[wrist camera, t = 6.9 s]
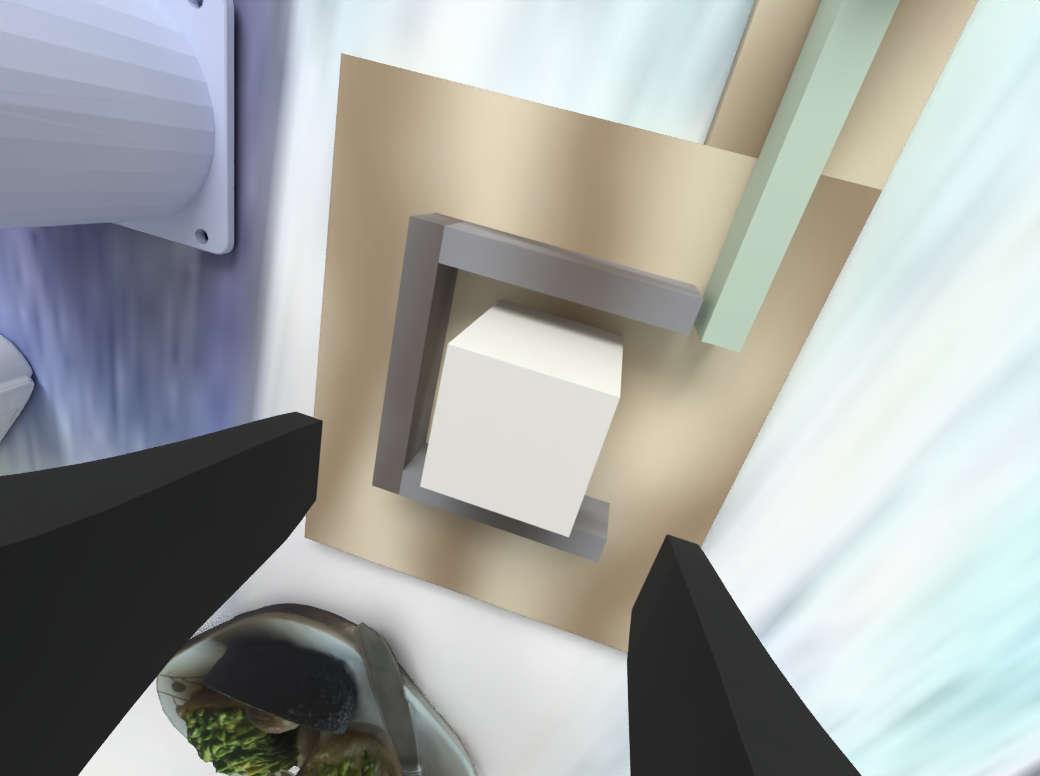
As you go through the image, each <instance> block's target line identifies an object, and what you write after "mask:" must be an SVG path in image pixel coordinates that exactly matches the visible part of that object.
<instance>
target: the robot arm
mask: <svg viewBox="0 0 1040 776" xmlns="http://www.w3.org/2000/svg"><path fill="white" fill-rule="evenodd" d="M110 222H111V223H114V224H118V225H121V226H124V227H128V228H131V229H134V230H138V231H141V232H144V233H147V234H151V235H154V236H157V237H161V238H164V239H167V240H171V241H174V242H177V243H180V244H184V245H187V246H190V247H194V248H197V249H200V250H204V251H207V252H210V253H213V254H226V253H229V252H231V250H232V249H233V246H234V5H233V0H203V4H202V6H201V7H199V4H198V0H0V229H14V228H30V227H46V226H62V225H78V224H94V223H110ZM204 231H205V232H206V233H207V235H208V241H207V240H206V239H205V237H204ZM322 426H323V421H322V420H319V419H316V418H313V417H310V416H307V415H304V414H301V413H298V412H292V413H287V414H282V415H278V416H274V417H270V418H266V419H262V420H258V421H254V422H251V423H247V424H243V425H240V426H236V427H232V428H229V429H225V430H221V431H217V432H214V433H210V434H206V435H203V436H199V437H195V438H191V439H188V440H184V441H180V442H175V443H171V444H167V445H163V446H159V447H154V448H150V449H146V450H142V451H137V452H133V453H129V454H125V455H120V456H116V457H111V458H106V459H102V460H97V461H91V462H86V463H81V464H76V465H70V466H64V467H58V468H52V469H46V470H40V471H34V472H28V473H21V474H14V475H6V476H0V776H78V775H79V774H80V772H81V771H82V770H83V768H84V767H85V766H86V764H87V763H88V762H89V760H90V759H91V758H92V757H93V755H94V754H95V753H96V752H97V750H98V749H99V748H100V747H101V745H102V744H103V743H104V741H105V740H106V739H107V738H108V736H109V735H110V734H111V733H112V731H113V730H114V729H115V728H116V726H117V725H118V724H119V723H120V721H121V720H122V719H123V717H124V716H125V715H126V714H127V712H128V711H129V710H130V709H131V707H132V706H133V705H134V704H135V702H136V701H137V700H138V699H139V698H140V696H141V695H142V694H143V693H144V691H145V690H146V689H147V688H148V687H149V685H150V684H151V683H152V682H153V681H154V679H155V678H156V677H157V676H158V675H159V673H160V672H161V671H162V670H163V669H164V667H165V666H166V665H167V664H168V663H169V661H170V660H171V659H172V658H173V656H174V655H175V654H176V653H177V652H178V651H179V650H180V648H181V647H182V646H183V645H184V644H185V643H186V642H187V641H188V640H189V639H190V638H191V637H192V635H193V634H194V633H195V632H196V631H197V630H198V629H199V628H200V627H201V626H202V625H203V624H204V623H205V622H206V621H207V620H208V619H209V618H210V617H211V616H212V615H213V614H214V613H215V612H216V611H217V610H218V609H219V608H220V607H221V606H222V605H223V604H224V603H225V602H226V601H227V600H228V599H229V598H230V597H231V596H232V595H233V594H234V593H235V592H236V591H237V590H238V589H239V588H240V587H241V586H242V585H243V584H244V583H245V582H246V581H247V580H248V579H249V577H250V576H251V575H252V574H253V573H254V572H255V571H256V570H257V569H258V568H259V567H260V566H261V565H262V564H263V563H264V562H265V561H266V560H267V559H268V558H269V557H270V556H271V555H272V554H273V553H274V552H275V551H276V550H277V549H278V548H279V547H280V546H281V545H282V544H283V543H284V541H285V540H286V539H287V538H288V537H289V536H290V534H291V533H292V532H293V530H294V529H295V528H296V527H297V525H298V524H299V523H300V522H301V520H302V519H303V517H304V516H305V515H306V513H307V512H308V511H309V509H310V508H311V507H312V505H313V504H314V502H315V501H316V497H317V485H318V473H319V461H320V450H321V438H322ZM627 677H628V711H629V740H630V770H631V776H861V774H860V773H859V772H858V771H857V769H856V768H855V767H854V766H853V765H852V763H851V762H850V761H849V760H848V758H847V757H846V756H845V755H844V754H843V752H842V751H841V750H840V749H839V747H838V746H837V745H836V744H835V742H834V741H833V740H832V739H831V738H830V736H829V735H828V734H827V733H826V731H825V730H824V729H823V728H822V726H821V725H820V724H819V722H818V721H817V720H816V719H815V717H814V716H813V715H812V713H811V712H810V711H809V709H808V708H807V707H806V705H805V704H804V703H803V701H802V700H801V699H800V697H799V696H798V694H797V693H796V692H795V690H794V689H793V688H792V686H791V685H790V683H789V682H788V681H787V679H786V678H785V676H784V675H783V674H782V672H781V671H780V670H779V668H778V667H777V665H776V664H775V662H774V661H773V660H772V658H771V657H770V655H769V654H768V652H767V651H766V649H765V648H764V646H763V645H762V643H761V642H760V640H759V639H758V637H757V636H756V634H755V633H754V631H753V630H752V628H751V627H750V625H749V624H748V622H747V621H746V619H745V618H744V616H743V614H742V613H741V611H740V610H739V608H738V607H737V605H736V603H735V602H734V600H733V599H732V597H731V595H730V594H729V592H728V591H727V589H726V587H725V586H724V584H723V583H722V581H721V579H720V578H719V576H718V574H717V573H716V571H715V570H714V568H713V566H712V565H711V563H710V562H709V560H708V558H707V557H706V555H705V554H704V552H703V551H702V549H701V548H700V546H699V545H698V544H696V543H693V542H690V541H687V540H684V539H681V538H678V537H674V536H671V535H668V534H667V535H666V537H665V539H664V541H663V543H662V545H661V548H660V550H659V552H658V554H657V556H656V558H655V560H654V563H653V565H652V567H651V569H650V571H649V573H648V576H647V578H646V580H645V582H644V584H643V586H642V588H641V591H640V593H639V595H638V597H637V599H636V601H635V604H634V606H633V608H632V612H631V622H630V632H629V644H628V657H627Z"/></svg>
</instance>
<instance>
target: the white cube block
mask: <svg viewBox="0 0 1040 776" xmlns="http://www.w3.org/2000/svg"><path fill="white" fill-rule="evenodd" d="M623 337H624V336H622V335H619V334H616V333H612V332H609V331H606V330H602V329H599V328H596V327H592V326H589V325H586V324H582V323H579V322H576V321H572V320H569V319H566V318H562V317H559V316H556V315H552V314H549V313H546V312H542V311H539V310H536V309H532V308H529V307H526V306H522V305H519V304H516V303H512V302H509V301H505V300H502V299H501V300H499V301H498V302H497V303H496V304H495V305H494V306H492V307H491V308H490V309H489V310H488V311H486V312H485V313H484V314H483V315H482V316H480V317H479V318H478V319H477V320H476V321H474V322H473V323H472V324H471V325H470V326H469V327H467V328H466V329H465V330H464V331H463V332H461V333H460V334H459V335H458V336H457V337H455V338H454V339H453V340H452V341H451V342H449V343H448V346H447V351H446V356H445V361H444V366H443V371H442V376H441V381H440V387H439V392H438V397H437V402H436V407H435V412H434V417H433V422H432V428H431V433H430V438H429V443H428V448H427V453H426V458H425V463H424V469H423V474H422V479H421V484H420V487H423V488H426V489H429V490H432V491H435V492H438V493H441V494H444V495H447V496H449V497H452V498H455V499H458V500H461V501H464V502H467V503H470V504H473V505H476V506H479V507H482V508H485V509H487V510H490V511H493V512H496V513H499V514H502V515H505V516H508V517H511V518H514V519H517V520H520V521H523V522H525V523H528V524H531V525H534V526H537V527H540V528H543V529H546V530H549V531H552V532H555V533H558V534H561V535H563V536H566V537H569V536H570V533H571V530H572V528H573V525H574V522H575V519H576V517H577V514H578V511H579V508H580V506H581V503H582V500H583V498H584V495H585V492H586V489H587V487H588V484H589V481H590V478H591V476H592V473H593V470H594V468H595V465H596V462H597V459H598V457H599V454H600V451H601V448H602V446H603V443H604V440H605V438H606V435H607V432H608V429H609V427H610V424H611V421H612V418H613V416H614V413H615V410H616V408H617V405H618V402H619V399H620V391H621V373H622V355H623Z"/></svg>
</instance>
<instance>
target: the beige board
mask: <svg viewBox="0 0 1040 776" xmlns="http://www.w3.org/2000/svg"><path fill="white" fill-rule="evenodd" d="M821 1H822V0H755V2H754V5H753V8H752V11H751V14H750V16H749V19H748V22H747V25H746V28H745V31H744V33H743V36H742V39H741V42H740V45H739V47H738V50H737V53H736V56H735V59H734V61H733V64H732V67H731V70H730V73H729V76H728V78H727V81H726V84H725V87H724V90H723V92H722V95H721V98H720V101H719V104H718V106H717V109H716V112H715V115H714V118H713V121H712V123H711V126H710V129H709V132H708V135H707V137H706V140H705V143H704V145H702V144H698V143H694V142H690V141H686V140H683V139H679V138H675V137H671V136H667V135H663V134H659V133H655V132H651V131H647V130H643V129H639V128H635V127H631V126H627V125H623V124H619V123H615V122H611V121H607V120H603V119H599V118H595V117H592V116H588V115H584V114H580V113H576V112H572V111H568V110H564V109H560V108H556V107H552V106H548V105H544V104H540V103H536V102H532V101H528V100H524V99H520V98H516V97H512V96H508V95H504V94H501V93H497V92H493V91H489V90H485V89H481V88H477V87H473V86H469V85H465V84H461V83H457V82H453V81H449V80H445V79H441V78H437V77H433V76H429V75H425V74H421V73H417V72H413V71H410V70H406V69H402V68H398V67H394V66H390V65H386V64H382V63H378V62H374V61H370V60H366V59H362V58H358V57H354V56H350V55H346V54H342V53H341V64H340V77H339V91H338V104H337V117H336V130H335V143H334V156H333V170H332V183H331V196H330V209H329V222H328V235H327V249H326V262H325V275H324V288H323V301H322V314H321V328H320V341H319V354H318V367H317V380H316V394H315V407H314V418H316V419H319V420H322V421H323V426H322V438H321V450H320V461H319V473H318V485H317V497H316V501H315V502H314V504H313V505H312V507H311V508H310V509H309V511H308V512H307V513H306V525H305V538H308V539H311V540H313V541H316V542H319V543H322V544H325V545H327V546H330V547H333V548H336V549H339V550H341V551H344V552H347V553H350V554H353V555H355V556H358V557H361V558H364V559H367V560H369V561H372V562H375V563H378V564H381V565H383V566H386V567H389V568H392V569H395V570H397V571H400V572H403V573H406V574H409V575H411V576H414V577H417V578H420V579H423V580H425V581H428V582H431V583H434V584H437V585H439V586H442V587H445V588H448V589H451V590H453V591H456V592H459V593H462V594H465V595H467V596H470V597H473V598H476V599H479V600H481V601H484V602H487V603H490V604H493V605H495V606H498V607H501V608H504V609H506V610H509V611H512V612H515V613H518V614H520V615H523V616H526V617H529V618H532V619H534V620H537V621H540V622H543V623H546V624H548V625H551V626H554V627H557V628H560V629H562V630H565V631H568V632H571V633H574V634H576V635H579V636H582V637H585V638H588V639H590V640H593V641H596V642H599V643H602V644H604V645H607V646H610V647H613V648H616V649H618V650H621V651H624V652H627V653H628V644H629V632H630V622H631V612H632V608H633V606H634V604H635V601H636V599H637V597H638V595H639V593H640V591H641V588H642V586H643V584H644V582H645V580H646V578H647V576H648V573H649V571H650V569H651V567H652V565H653V563H654V560H655V558H656V556H657V554H658V552H659V550H660V548H661V545H662V543H663V541H664V539H665V537H666V535H667V534H668V535H671V536H674V537H678V538H681V539H684V540H687V541H690V542H693V543H696V544H698V545H699V546H700V548H701V546H702V544H703V542H704V540H705V538H706V536H707V534H708V532H709V530H710V528H711V526H712V524H713V522H714V520H715V518H716V516H717V514H718V512H719V510H720V508H721V506H722V504H723V502H724V500H725V498H726V496H727V495H728V493H729V491H730V489H731V487H732V485H733V483H734V481H735V479H736V477H737V475H738V473H739V471H740V469H741V467H742V465H743V463H744V461H745V459H746V457H747V455H748V453H749V451H750V449H751V447H752V445H753V443H754V441H755V439H756V437H757V435H758V433H759V432H760V430H761V428H762V426H763V424H764V422H765V420H766V418H767V416H768V414H769V412H770V410H771V408H772V406H773V404H774V402H775V400H776V398H777V396H778V394H779V392H780V390H781V388H782V386H783V384H784V382H785V380H786V378H787V376H788V374H789V372H790V370H791V369H792V367H793V365H794V363H795V361H796V359H797V357H798V355H799V353H800V351H801V349H802V347H803V345H804V343H805V341H806V339H807V337H808V335H809V333H810V331H811V329H812V327H813V325H814V323H815V321H816V319H817V317H818V315H819V313H820V311H821V309H822V307H823V306H824V304H825V302H826V300H827V298H828V296H829V294H830V292H831V290H832V288H833V286H834V284H835V282H836V280H837V278H838V276H839V274H840V272H841V270H842V268H843V266H844V264H845V262H846V260H847V258H848V256H849V254H850V252H851V250H852V248H853V246H854V244H855V243H856V241H857V239H858V237H859V235H860V233H861V231H862V229H863V227H864V225H865V223H866V221H867V219H868V217H869V215H870V213H871V211H872V209H873V207H874V205H875V203H876V201H877V199H878V197H879V195H880V193H881V191H882V189H883V187H884V185H885V183H886V181H887V180H888V178H889V176H890V174H891V172H892V170H893V168H894V166H895V164H896V162H897V160H898V158H899V156H900V154H901V152H902V150H903V148H904V146H905V144H906V142H907V140H908V138H909V136H910V134H911V132H912V130H913V128H914V126H915V124H916V122H917V120H918V118H919V117H920V115H921V113H922V111H923V109H924V107H925V105H926V103H927V101H928V99H929V97H930V95H931V93H932V91H933V89H934V87H935V85H936V83H937V81H938V79H939V77H940V75H941V73H942V71H943V69H944V67H945V65H946V63H947V61H948V59H949V57H950V55H951V54H952V52H953V50H954V48H955V46H956V44H957V42H958V40H959V38H960V36H961V34H962V32H963V30H964V28H965V26H966V24H967V22H968V20H969V18H970V16H971V14H972V12H973V10H974V8H975V6H976V4H977V2H978V0H900V1H899V4H898V6H897V8H896V10H895V12H894V15H893V17H892V19H891V21H890V23H889V26H888V28H887V30H886V32H885V34H884V37H883V39H882V41H881V43H880V45H879V48H878V50H877V52H876V54H875V56H874V59H873V61H872V63H871V65H870V67H869V70H868V72H867V74H866V76H865V78H864V81H863V83H862V85H861V87H860V89H859V92H858V94H857V96H856V98H855V100H854V103H853V105H852V107H851V109H850V111H849V114H848V116H847V118H846V120H845V122H844V125H843V127H842V129H841V131H840V133H839V136H838V138H837V140H836V142H835V144H834V147H833V149H832V151H831V153H830V155H829V158H828V160H827V162H826V164H825V166H824V169H823V171H822V173H821V175H820V177H819V180H818V182H817V184H816V186H815V188H814V191H813V193H812V195H811V197H810V199H809V202H808V204H807V206H806V208H805V210H804V213H803V215H802V217H801V219H800V221H799V224H798V226H797V228H796V230H795V232H794V235H793V237H792V239H791V241H790V243H789V246H788V248H787V250H786V252H785V254H784V257H783V259H782V261H781V263H780V265H779V268H778V270H777V272H776V274H775V276H774V279H773V281H772V283H771V285H770V287H769V290H768V292H767V294H766V296H765V298H764V301H763V303H762V305H761V307H760V309H759V312H758V314H757V316H756V318H755V320H754V323H753V325H752V327H751V329H750V331H749V334H748V336H747V338H746V340H745V342H744V345H743V347H742V349H741V351H740V352H737V351H733V350H730V349H727V348H723V347H720V346H716V345H713V344H709V343H706V342H703V341H701V339H700V337H699V335H698V333H697V331H696V328H695V326H694V322H695V320H696V317H697V315H698V312H699V310H700V307H701V305H702V302H703V300H704V299H703V295H704V293H705V290H706V288H707V285H708V283H709V280H710V278H711V275H712V273H713V270H714V268H715V265H716V263H717V260H718V258H719V255H720V253H721V250H722V248H723V245H724V243H725V240H726V238H727V235H728V233H729V230H730V228H731V225H732V223H733V220H734V218H735V215H736V213H737V210H738V208H739V205H740V203H741V200H742V198H743V195H744V193H745V190H746V188H747V185H748V183H749V180H750V178H751V175H752V173H753V170H754V168H755V165H756V163H757V160H758V158H759V155H760V153H761V150H762V148H763V145H764V143H765V140H766V138H767V135H768V133H769V130H770V128H771V125H772V123H773V120H774V118H775V115H776V113H777V110H778V108H779V105H780V103H781V100H782V98H783V95H784V93H785V91H786V88H787V86H788V83H789V81H790V78H791V76H792V73H793V71H794V68H795V66H796V63H797V61H798V58H799V56H800V53H801V51H802V48H803V46H804V43H805V41H806V38H807V36H808V33H809V31H810V28H811V26H812V23H813V21H814V18H815V16H816V13H817V11H818V8H819V6H820V3H821ZM501 299H502V300H505V301H509V302H512V303H516V304H519V305H522V306H526V307H529V308H532V309H536V310H539V311H542V312H546V313H549V314H552V315H556V316H559V317H562V318H566V319H569V320H572V321H576V322H579V323H582V324H586V325H589V326H592V327H596V328H599V329H602V330H606V331H609V332H612V333H616V334H619V335H622V336H624V337H623V355H622V373H621V391H620V399H619V402H618V405H617V408H616V410H615V413H614V416H613V418H612V421H611V424H610V427H609V429H608V432H607V435H606V438H605V440H604V443H603V446H602V448H601V451H600V454H599V457H598V459H597V462H596V465H595V468H594V470H593V473H592V476H591V478H590V481H589V484H588V487H587V489H586V492H585V495H584V498H583V500H582V503H581V506H580V508H579V511H578V514H577V517H576V519H575V522H574V525H573V528H572V530H571V533H570V536H569V537H566V536H563V535H561V534H558V533H555V532H552V531H549V530H546V529H543V528H540V527H537V526H534V525H531V524H528V523H525V522H523V521H520V520H517V519H514V518H511V517H508V516H505V515H502V514H499V513H496V512H493V511H490V510H487V509H485V508H482V507H479V506H476V505H473V504H470V503H467V502H464V501H461V500H458V499H455V498H452V497H449V496H447V495H444V494H441V493H438V492H435V491H432V490H429V489H426V488H423V487H420V484H421V479H422V474H423V469H424V463H425V458H426V453H427V448H428V443H429V438H430V433H431V428H432V422H433V417H434V412H435V407H436V402H437V397H438V392H439V387H440V381H441V376H442V371H443V366H444V361H445V356H446V351H447V346H448V343H449V342H451V341H452V340H453V339H454V338H455V337H457V336H458V335H459V334H460V333H461V332H463V331H464V330H465V329H466V328H467V327H469V326H470V325H471V324H472V323H473V322H474V321H476V320H477V319H478V318H479V317H480V316H482V315H483V314H484V313H485V312H486V311H488V310H489V309H490V308H491V307H492V306H494V305H495V304H496V303H497V302H498V301H499V300H501Z"/></svg>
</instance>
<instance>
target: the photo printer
mask: <svg viewBox="0 0 1040 776" xmlns="http://www.w3.org/2000/svg"><path fill="white" fill-rule="evenodd" d="M32 373H33V372H32V369H31V367H30V365H29V363H28V361H27V360H26V359H25V357H24V356H23V354H22V353H21V352H20V351H19V350H18V348H17V347H16V346H15V345H13V344H12V343H11V342H10V341H9V340H8V339H7V338H5V337H4V336H2V335H1V334H0V441H1V440H2V439H3V437H4V436H5V434H6V433H7V431H8V430H9V428H10V427H11V426H12V424H13V423H14V421H15V420H16V418H17V417H18V416H19V414H20V413H21V411H22V409H23V408H24V406H25V405H26V403H27V401H28V399H29V398H30V395H31V393H32V391H33V388H34V382H33V380H32V379H31V376H32Z"/></svg>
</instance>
